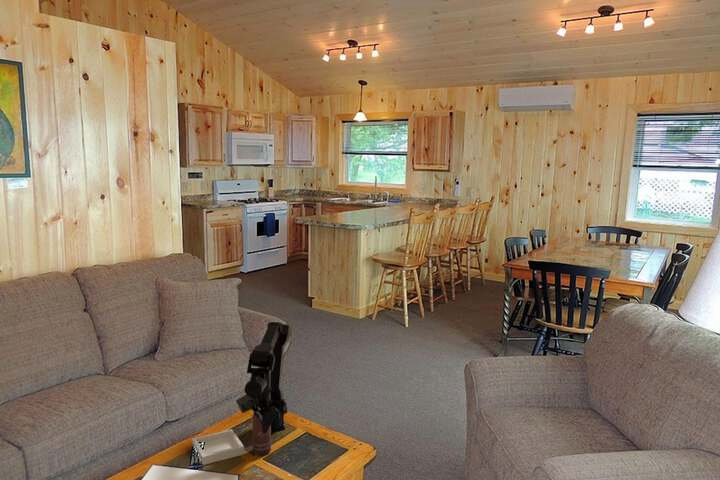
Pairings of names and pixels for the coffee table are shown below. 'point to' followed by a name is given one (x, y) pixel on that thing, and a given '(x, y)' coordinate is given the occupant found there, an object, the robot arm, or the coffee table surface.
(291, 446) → the coffee table surface
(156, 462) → the coffee table surface
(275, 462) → the coffee table surface
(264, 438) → the can
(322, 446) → the coffee table surface
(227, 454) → the tray
